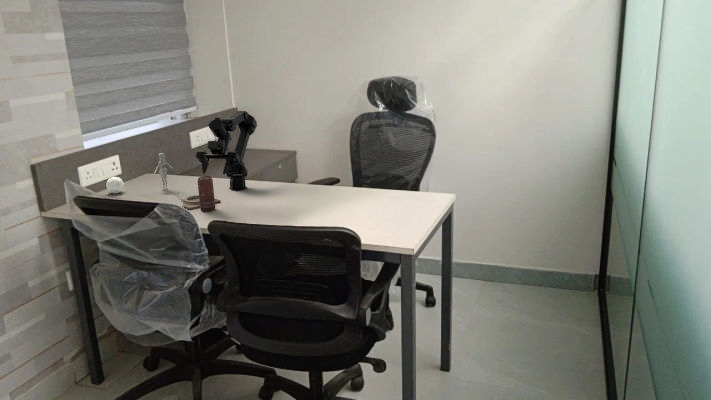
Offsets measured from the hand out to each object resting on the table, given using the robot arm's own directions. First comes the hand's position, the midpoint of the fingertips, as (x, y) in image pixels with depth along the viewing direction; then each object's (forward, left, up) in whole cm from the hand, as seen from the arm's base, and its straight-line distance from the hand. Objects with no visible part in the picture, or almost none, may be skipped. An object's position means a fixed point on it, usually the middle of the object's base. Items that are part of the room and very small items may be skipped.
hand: (213, 173), depth 240 cm
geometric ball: (+23, -52, -14) cm, 59 cm away
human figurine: (+5, -38, -14) cm, 41 cm away
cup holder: (+5, -9, -14) cm, 17 cm away
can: (+7, +5, -14) cm, 16 cm away
